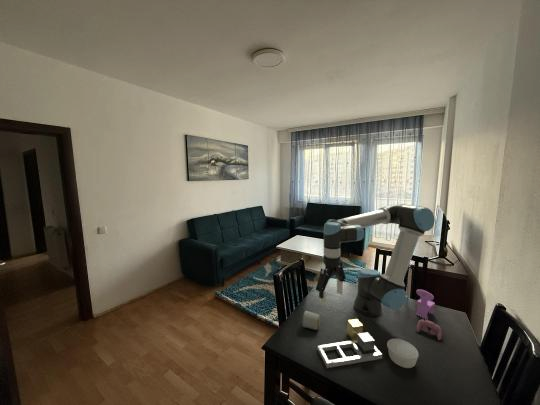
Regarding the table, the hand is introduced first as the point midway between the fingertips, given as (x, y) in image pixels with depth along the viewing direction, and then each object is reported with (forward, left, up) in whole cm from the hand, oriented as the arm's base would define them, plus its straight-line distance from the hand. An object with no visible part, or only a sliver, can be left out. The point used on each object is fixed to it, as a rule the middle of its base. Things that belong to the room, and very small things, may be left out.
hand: (331, 298), depth 104 cm
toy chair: (-60, -6, -19) cm, 63 cm away
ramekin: (-24, +18, -20) cm, 36 cm away
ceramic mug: (+6, -9, -20) cm, 22 cm away
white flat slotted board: (-3, +12, -19) cm, 23 cm away
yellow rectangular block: (-12, +2, -19) cm, 23 cm away
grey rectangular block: (-11, +12, -19) cm, 25 cm away
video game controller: (-48, +8, -20) cm, 53 cm away
